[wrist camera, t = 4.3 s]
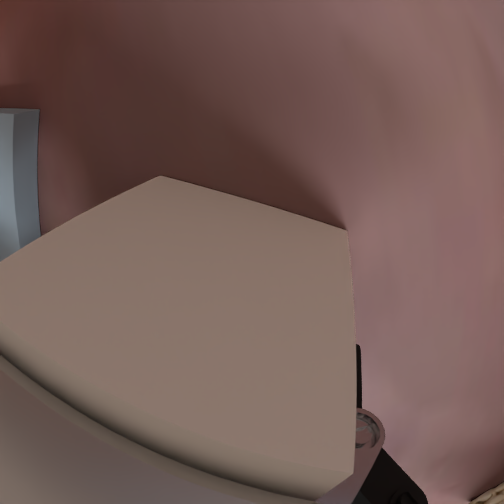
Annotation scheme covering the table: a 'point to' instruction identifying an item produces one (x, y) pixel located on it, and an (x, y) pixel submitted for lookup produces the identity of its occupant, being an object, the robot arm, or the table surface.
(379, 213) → the table surface
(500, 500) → the storage basket
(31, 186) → the slate board
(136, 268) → the matte white cube
